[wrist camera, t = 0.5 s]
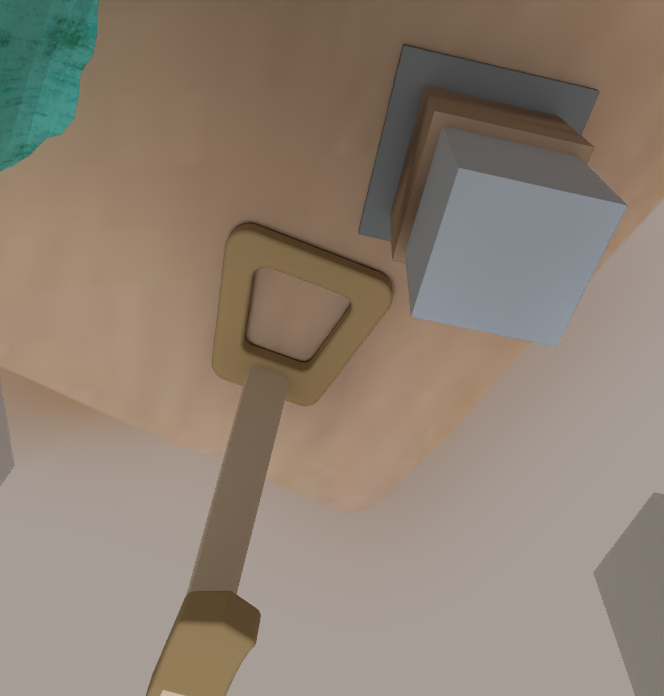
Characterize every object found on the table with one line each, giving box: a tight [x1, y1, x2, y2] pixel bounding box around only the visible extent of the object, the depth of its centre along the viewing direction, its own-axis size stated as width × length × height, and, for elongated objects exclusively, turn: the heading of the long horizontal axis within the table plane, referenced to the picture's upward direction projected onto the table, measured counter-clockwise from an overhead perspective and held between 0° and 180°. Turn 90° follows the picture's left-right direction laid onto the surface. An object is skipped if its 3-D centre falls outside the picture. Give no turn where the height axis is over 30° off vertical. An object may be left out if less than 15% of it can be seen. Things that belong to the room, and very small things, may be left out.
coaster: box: [358, 44, 599, 241], centre depth 32 cm, size 10×10×1 cm
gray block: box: [405, 126, 628, 347], centre depth 24 cm, size 6×6×6 cm
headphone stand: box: [146, 224, 392, 696], centre depth 29 cm, size 10×11×22 cm
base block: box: [390, 85, 594, 263], centre depth 29 cm, size 7×7×6 cm
